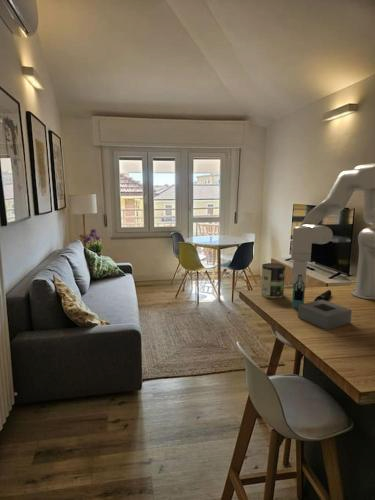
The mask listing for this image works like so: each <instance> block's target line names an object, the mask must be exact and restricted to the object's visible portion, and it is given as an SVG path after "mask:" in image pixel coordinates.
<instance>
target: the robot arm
mask: <svg viewBox="0 0 375 500" xmlns="http://www.w3.org/2000/svg"><path fill="white" fill-rule="evenodd" d="M356 191H357V192H358V191H363V196H364V197H363V214H362V217H363V221H364V223H366V224H368V225H371V226H372V225H373V226H375V162H374V163H372V162H370V163H362V164H359V165H356V166H355V167H354V168H353V169H347V170H343V171H341V172H340V173H339V174H338V175H337V177H336V178H335V180H334V182H333V184H332V185H331V187H330V189H329V192H328V193H327V195H326V197H325V198H324V199H323V200H322V201H321V202H320V203H318V204H317V205H316V206H315V207H313V208H312V209H311V210H310V211H308V213H307V214H306V215H305V217H304V219H303V220H302V222H301V224H300V225H296V226H294V227H293V228H292V237H291V238H292V241H291V252H290V254H291V256H290V257H291V258H290V259H291V261H293V264H292V275H291V276H292V277H291V283H292V286H293V285H294V284H296V290H295V295H294V300H300V301H302V300H303V285H305V286H306V278H307V270H308V269H307V268H308V262H310V261H311V259H312V257H311V256H312V244H317V245H324V244H328V243H330V242H331V241H332V239H333V237H334V235H333V234H334V233H333V231H332V229H331V228H330V227H328V226H327V225H323V224H322V225H321V224H319V223H320V222H321V221H323V219H325V218H327V217H329V216H331V215H334V214H337V213H340V212H341V211H343V210H345V208H346V206H347V204H348V203H349V202H350V201H349V200H350V199H351V197H352V196H353V194H354V192H356ZM357 241H358V242H357V243H358V263H357V269H356V270H357V271H356V280H355V289H352V290H351V295H353V296H355V297H356V298H360V299H364V300H365V299H366V300H374V301H375V227H370V226H369V227H365V228H363V229H362V230H360V231H359V234H358V236H357ZM297 285H298V286H297Z"/></svg>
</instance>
